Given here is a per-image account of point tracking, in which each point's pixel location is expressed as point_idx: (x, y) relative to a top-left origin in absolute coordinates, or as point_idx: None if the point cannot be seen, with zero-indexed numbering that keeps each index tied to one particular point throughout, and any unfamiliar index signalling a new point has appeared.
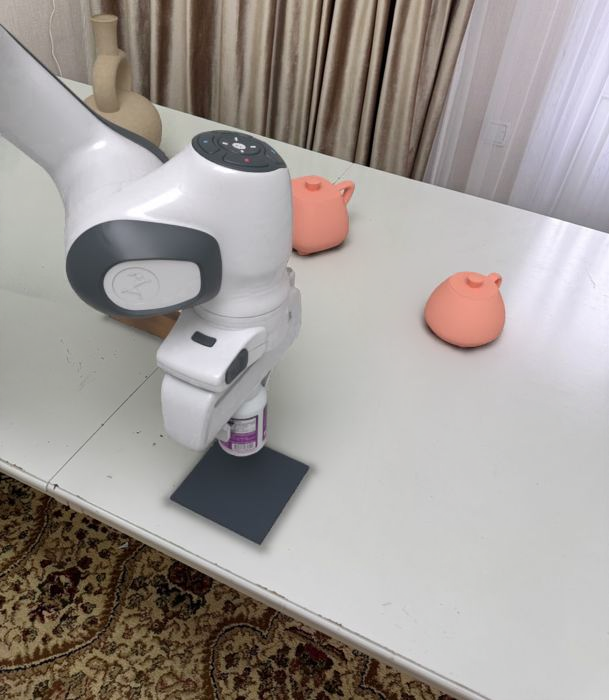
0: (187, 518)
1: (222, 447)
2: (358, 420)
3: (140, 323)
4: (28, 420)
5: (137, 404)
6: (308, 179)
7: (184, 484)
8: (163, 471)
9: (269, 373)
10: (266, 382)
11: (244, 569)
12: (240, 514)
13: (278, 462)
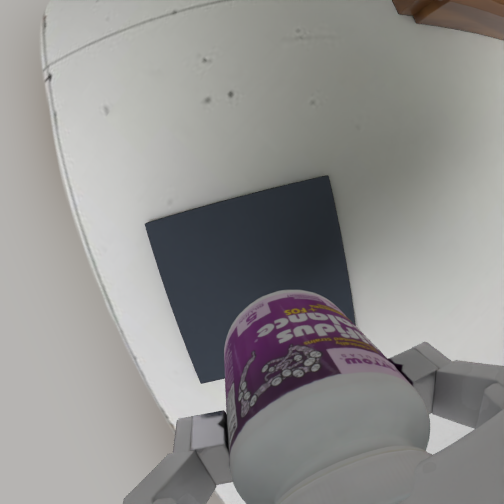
0: (145, 273)
1: (224, 348)
2: (456, 315)
3: None
4: None
5: (249, 14)
6: None
7: (180, 220)
8: (176, 163)
9: (469, 426)
10: (442, 414)
11: (160, 387)
12: (211, 334)
13: (333, 302)
